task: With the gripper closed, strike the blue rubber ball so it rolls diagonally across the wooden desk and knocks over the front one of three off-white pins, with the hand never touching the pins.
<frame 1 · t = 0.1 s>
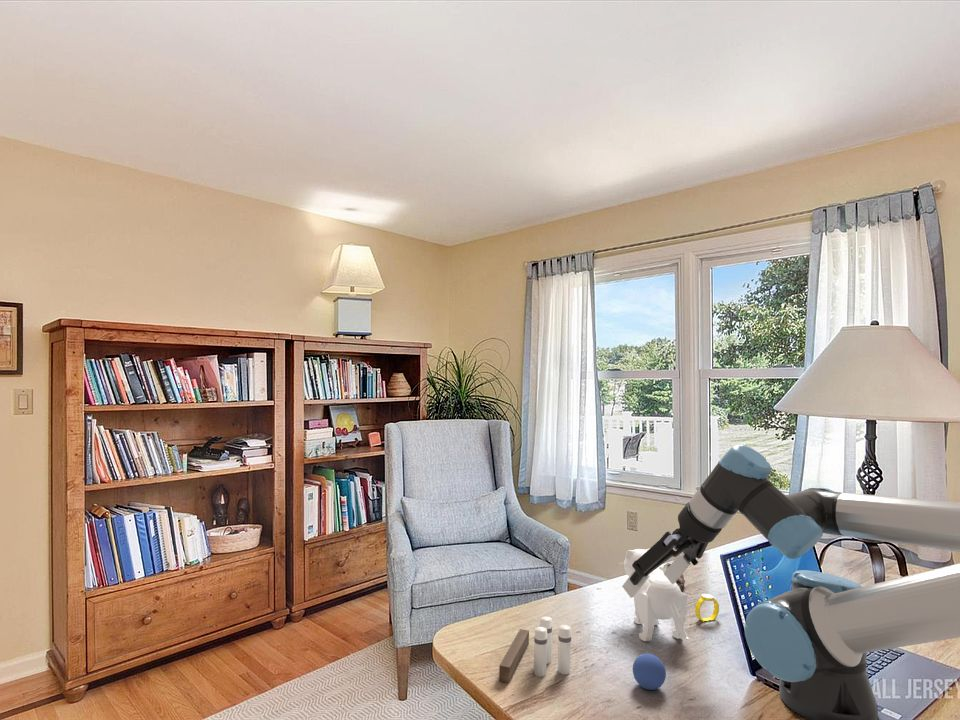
hand: (648, 585, 117), 15 cm above the table, tool tilted 35°, fingers open, 13 cm apart
pin 1: (539, 673, 111), on the table
back wall: (514, 661, 115), on the table
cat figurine: (655, 633, 129), on the table
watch: (706, 621, 136), on the table
mineral rock: (669, 587, 157), on the table
pin 2: (545, 661, 115), on the table
ball: (649, 671, 107), on the table
front pin: (564, 671, 112), on the table
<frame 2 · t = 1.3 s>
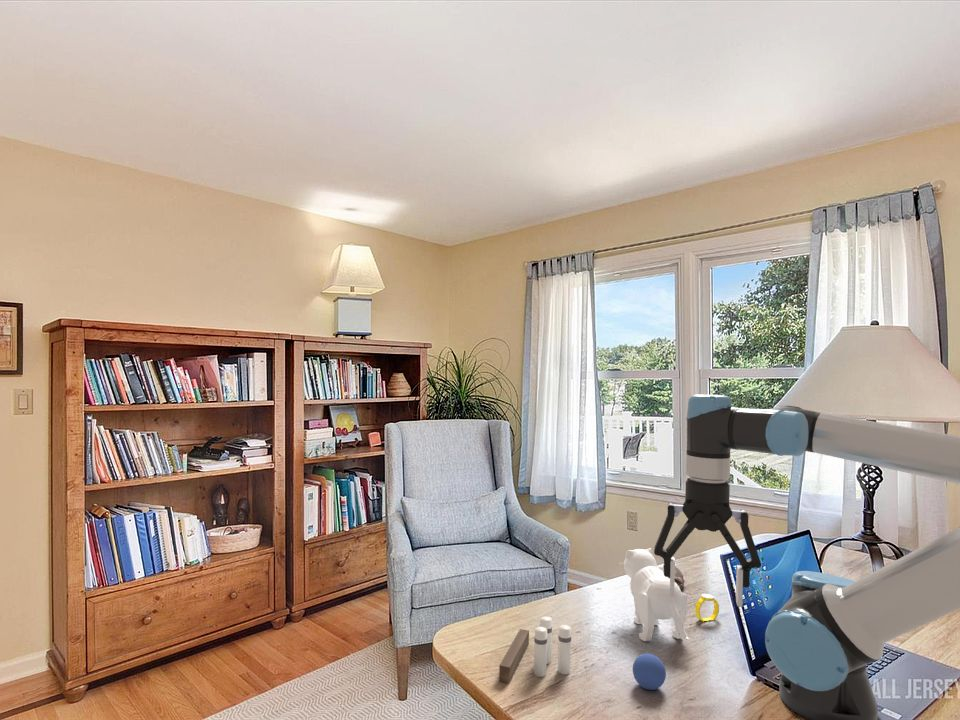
hand: (704, 599, 104), 18 cm above the table, tool pointing down, fingers open, 11 cm apart
nothing on the table moved.
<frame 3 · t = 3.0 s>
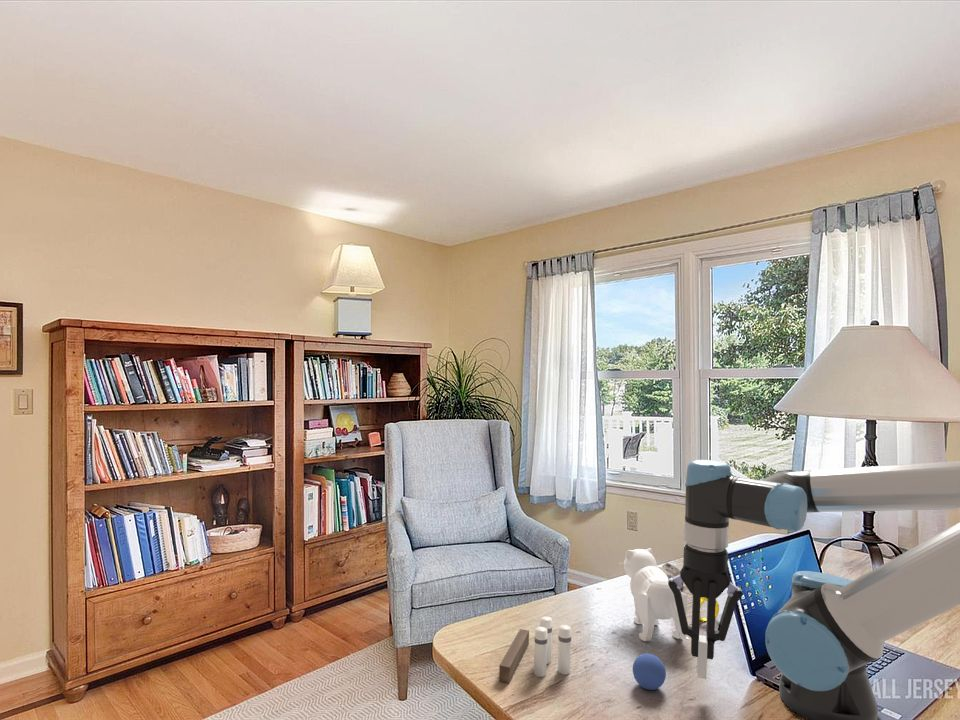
hand: (701, 674, 104), 4 cm above the table, tool pointing down, fingers closed
nothing on the table moved.
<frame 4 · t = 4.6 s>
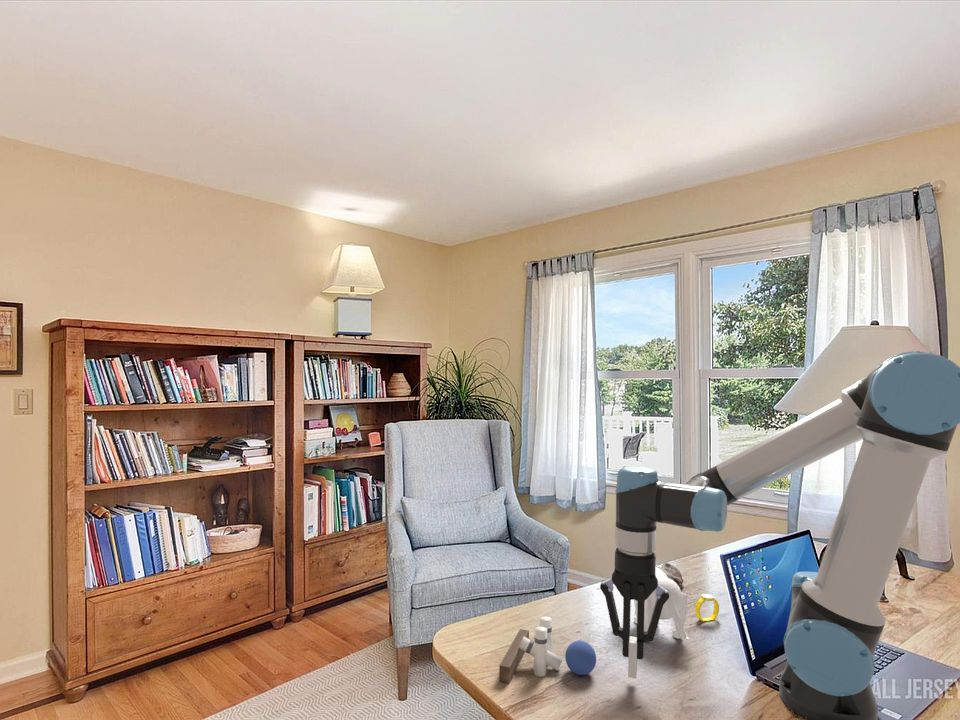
hand: (632, 674, 108), 2 cm above the table, tool pointing down, fingers closed
ball: (580, 657, 111), on the table
front pin: (560, 664, 112), point 1 cm above the table, tilted 68°
everything else where it was.
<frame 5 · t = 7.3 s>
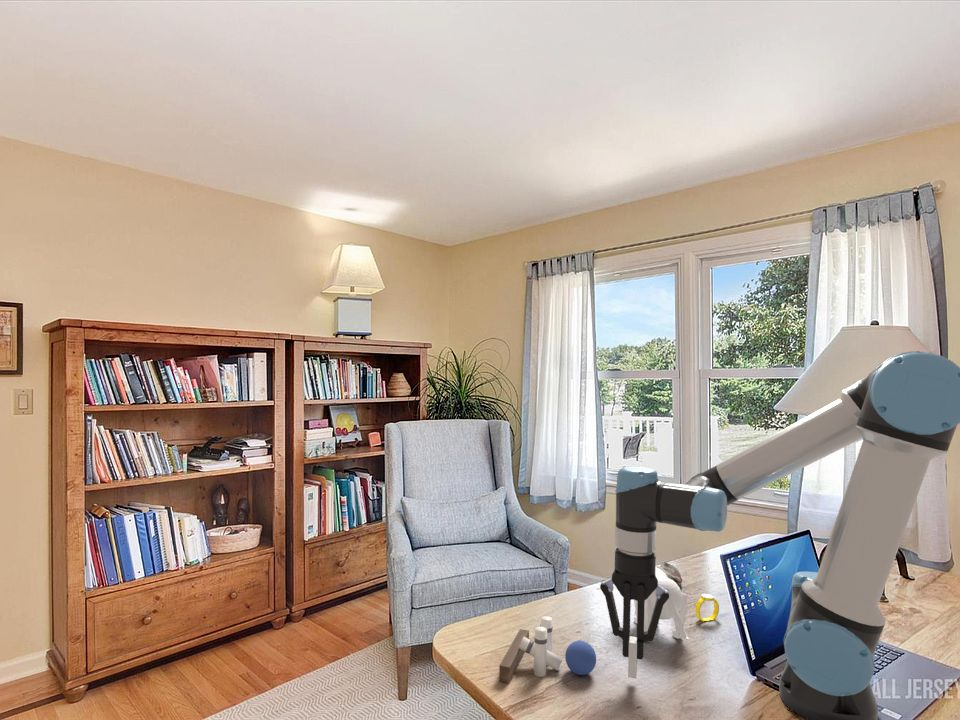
hand: (632, 674, 108), 2 cm above the table, tool pointing down, fingers closed
front pin: (560, 664, 112), point 1 cm above the table, tilted 69°, touching back wall
everything else where it was.
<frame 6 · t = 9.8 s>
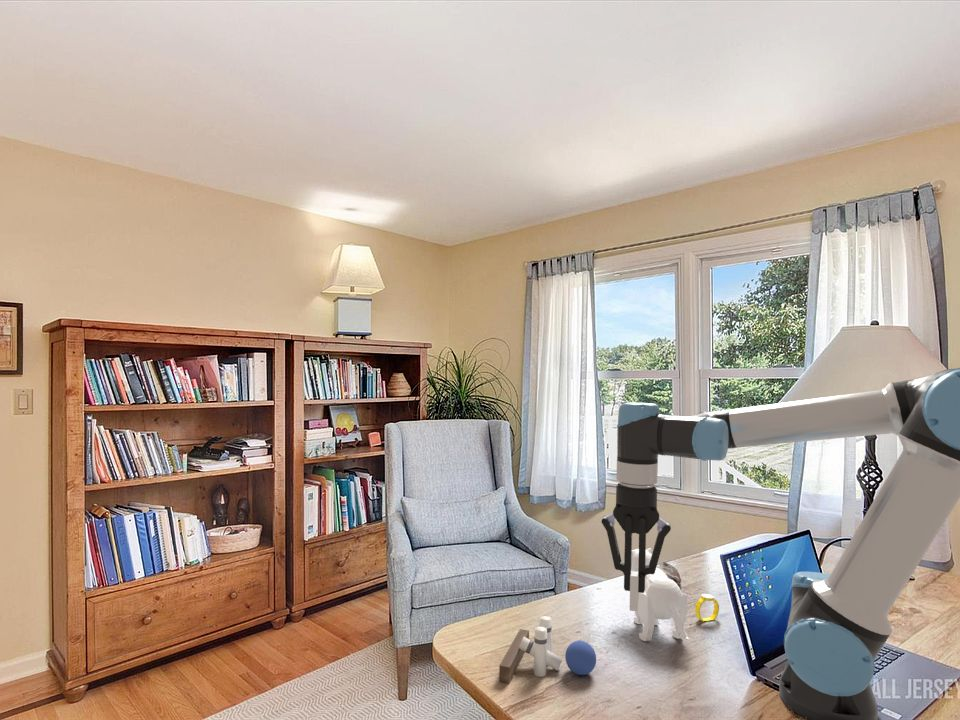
hand: (633, 608, 108), 14 cm above the table, tool pointing down, fingers closed
at the end: front pin tilted 69°; front pin never touched the robot; ball moved 12.9 cm from its start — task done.
